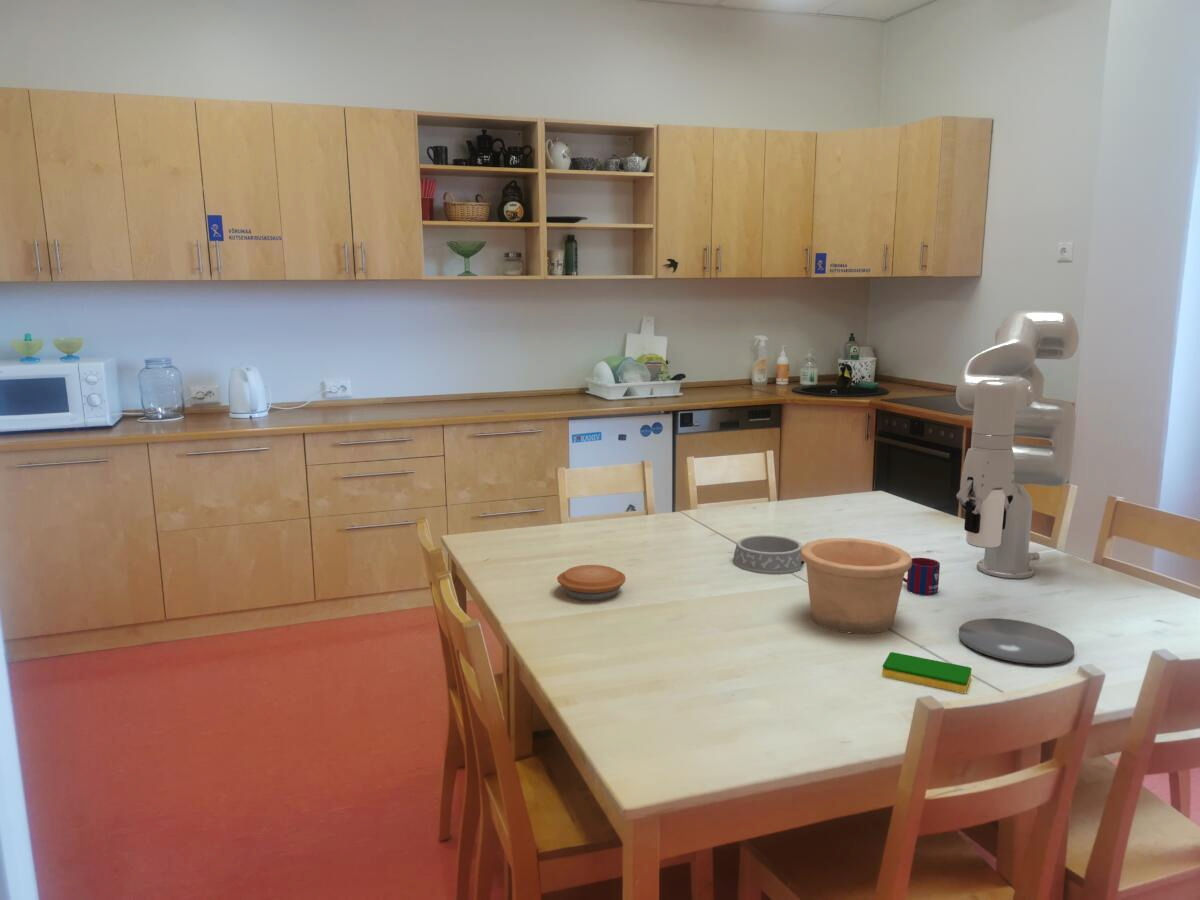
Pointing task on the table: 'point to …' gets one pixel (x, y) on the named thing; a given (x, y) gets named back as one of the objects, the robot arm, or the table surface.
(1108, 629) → the table surface
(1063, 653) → the dish
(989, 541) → the can
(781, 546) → the dog bowl
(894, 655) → the dish sponge
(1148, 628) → the table surface
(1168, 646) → the table surface
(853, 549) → the pottery
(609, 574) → the pie
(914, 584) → the mug
